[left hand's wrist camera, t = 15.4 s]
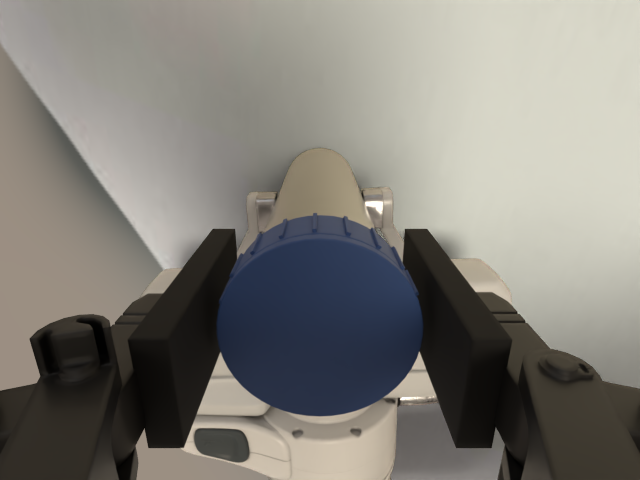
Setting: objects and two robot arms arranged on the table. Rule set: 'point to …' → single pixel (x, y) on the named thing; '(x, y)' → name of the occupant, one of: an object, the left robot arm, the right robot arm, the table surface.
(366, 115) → the table surface
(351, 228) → the lid
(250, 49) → the table surface
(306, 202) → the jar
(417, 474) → the table surface
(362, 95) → the table surface
